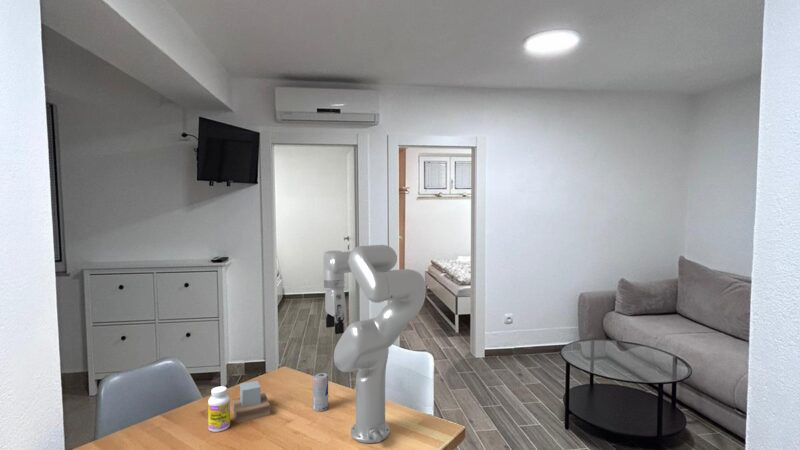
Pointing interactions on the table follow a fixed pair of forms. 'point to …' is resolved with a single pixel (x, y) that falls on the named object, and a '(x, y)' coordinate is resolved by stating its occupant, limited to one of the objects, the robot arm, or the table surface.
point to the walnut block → (251, 410)
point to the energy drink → (320, 392)
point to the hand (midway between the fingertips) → (334, 330)
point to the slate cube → (250, 393)
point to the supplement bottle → (219, 409)
